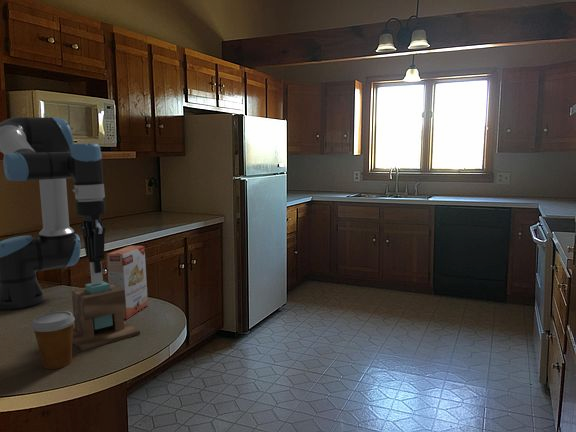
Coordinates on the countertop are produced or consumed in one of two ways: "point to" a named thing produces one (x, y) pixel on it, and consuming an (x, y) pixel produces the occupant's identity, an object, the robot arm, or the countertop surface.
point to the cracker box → (129, 276)
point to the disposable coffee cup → (54, 338)
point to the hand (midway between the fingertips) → (97, 283)
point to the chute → (95, 307)
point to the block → (103, 320)
